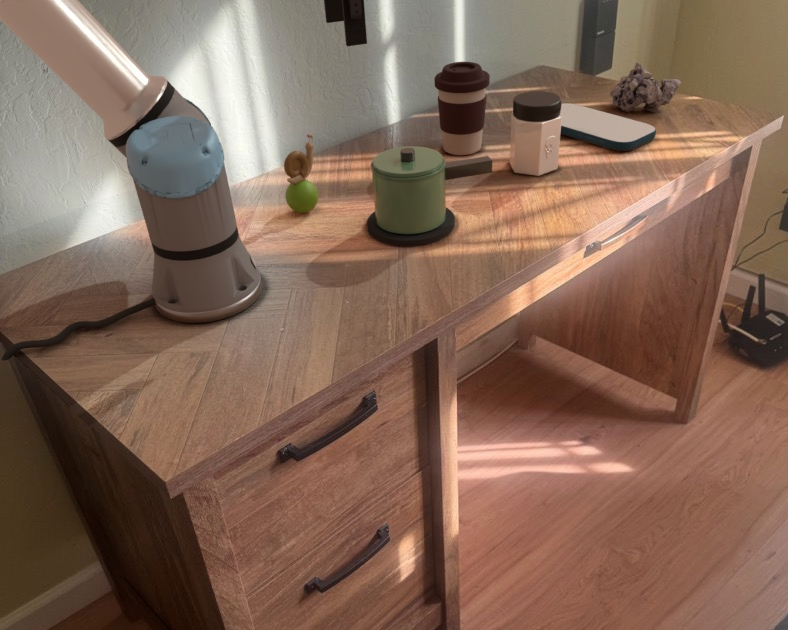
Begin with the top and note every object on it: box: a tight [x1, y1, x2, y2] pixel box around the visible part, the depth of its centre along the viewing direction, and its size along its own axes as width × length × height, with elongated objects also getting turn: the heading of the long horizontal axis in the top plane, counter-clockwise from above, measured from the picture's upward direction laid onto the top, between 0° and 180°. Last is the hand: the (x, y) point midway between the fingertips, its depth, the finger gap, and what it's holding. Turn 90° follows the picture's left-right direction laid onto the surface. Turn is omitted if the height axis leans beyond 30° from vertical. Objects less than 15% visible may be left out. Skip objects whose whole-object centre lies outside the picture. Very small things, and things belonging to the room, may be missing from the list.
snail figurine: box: [283, 133, 319, 214], centre depth 125 cm, size 5×6×12 cm
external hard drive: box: [560, 102, 657, 152], centre depth 148 cm, size 24×12×2 cm, turn 40°
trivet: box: [366, 207, 456, 247], centre depth 122 cm, size 14×14×1 cm
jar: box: [509, 90, 562, 177], centre depth 134 cm, size 9×8×12 cm
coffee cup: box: [433, 61, 491, 156], centre depth 141 cm, size 10×10×15 cm
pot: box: [369, 145, 493, 234], centre depth 119 cm, size 12×19×11 cm, turn 105°
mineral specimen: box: [609, 61, 682, 113], centre depth 155 cm, size 12×9×10 cm
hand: (345, 32), depth 106 cm, fingers open, 13 cm apart
